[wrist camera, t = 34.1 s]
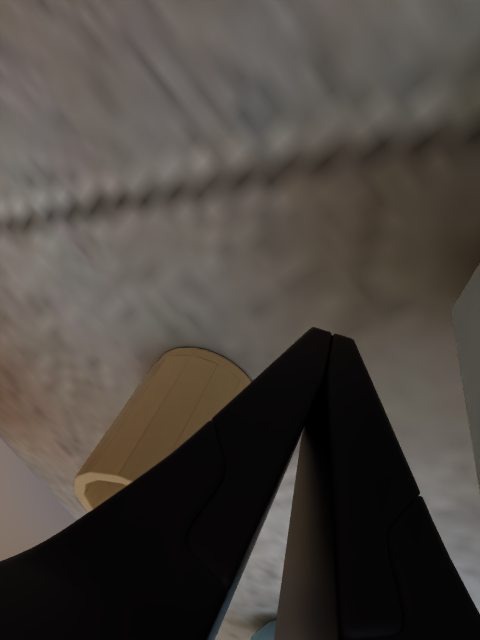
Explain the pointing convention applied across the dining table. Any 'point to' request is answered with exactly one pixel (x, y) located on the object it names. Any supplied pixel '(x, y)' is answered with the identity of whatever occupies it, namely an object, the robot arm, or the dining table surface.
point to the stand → (158, 419)
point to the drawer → (470, 355)
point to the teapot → (265, 632)
